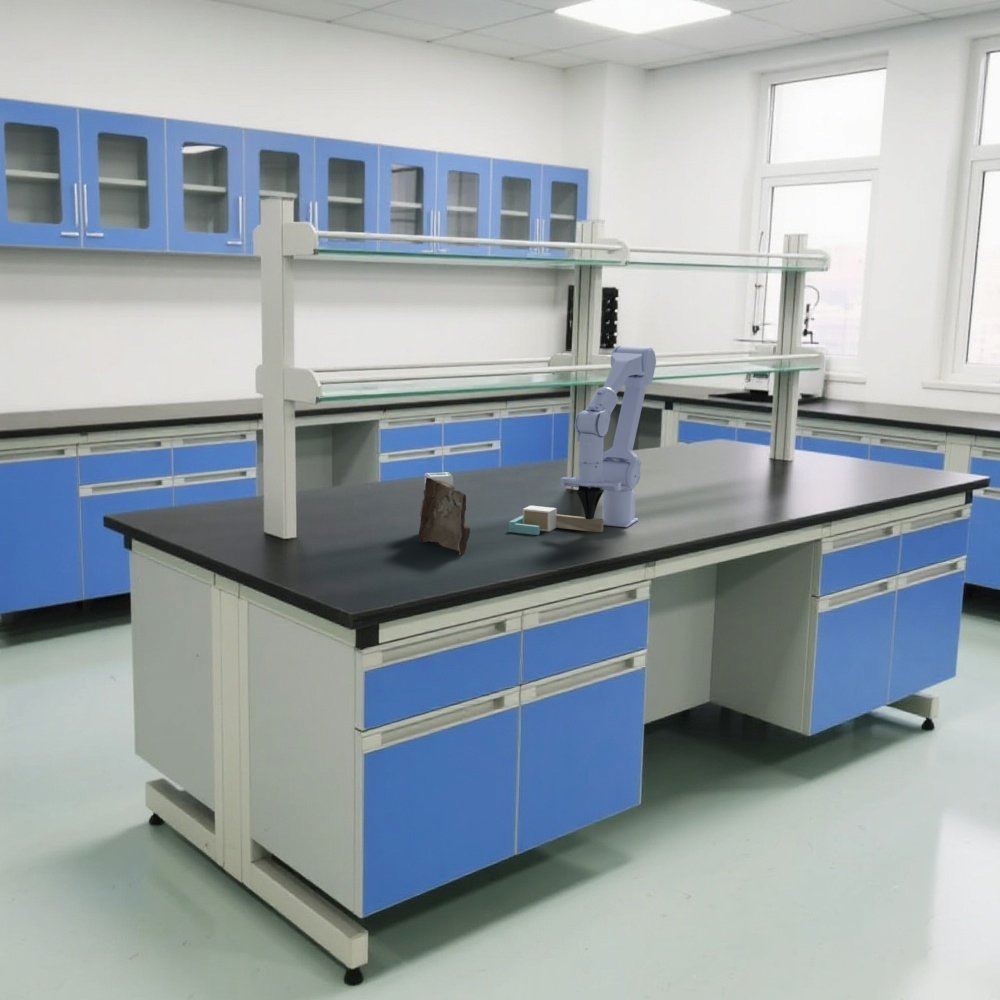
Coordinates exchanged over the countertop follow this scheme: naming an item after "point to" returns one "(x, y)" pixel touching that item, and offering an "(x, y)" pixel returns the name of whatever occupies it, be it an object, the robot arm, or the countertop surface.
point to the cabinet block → (540, 517)
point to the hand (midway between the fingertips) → (589, 518)
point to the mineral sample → (444, 516)
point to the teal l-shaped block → (523, 527)
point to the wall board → (579, 523)
